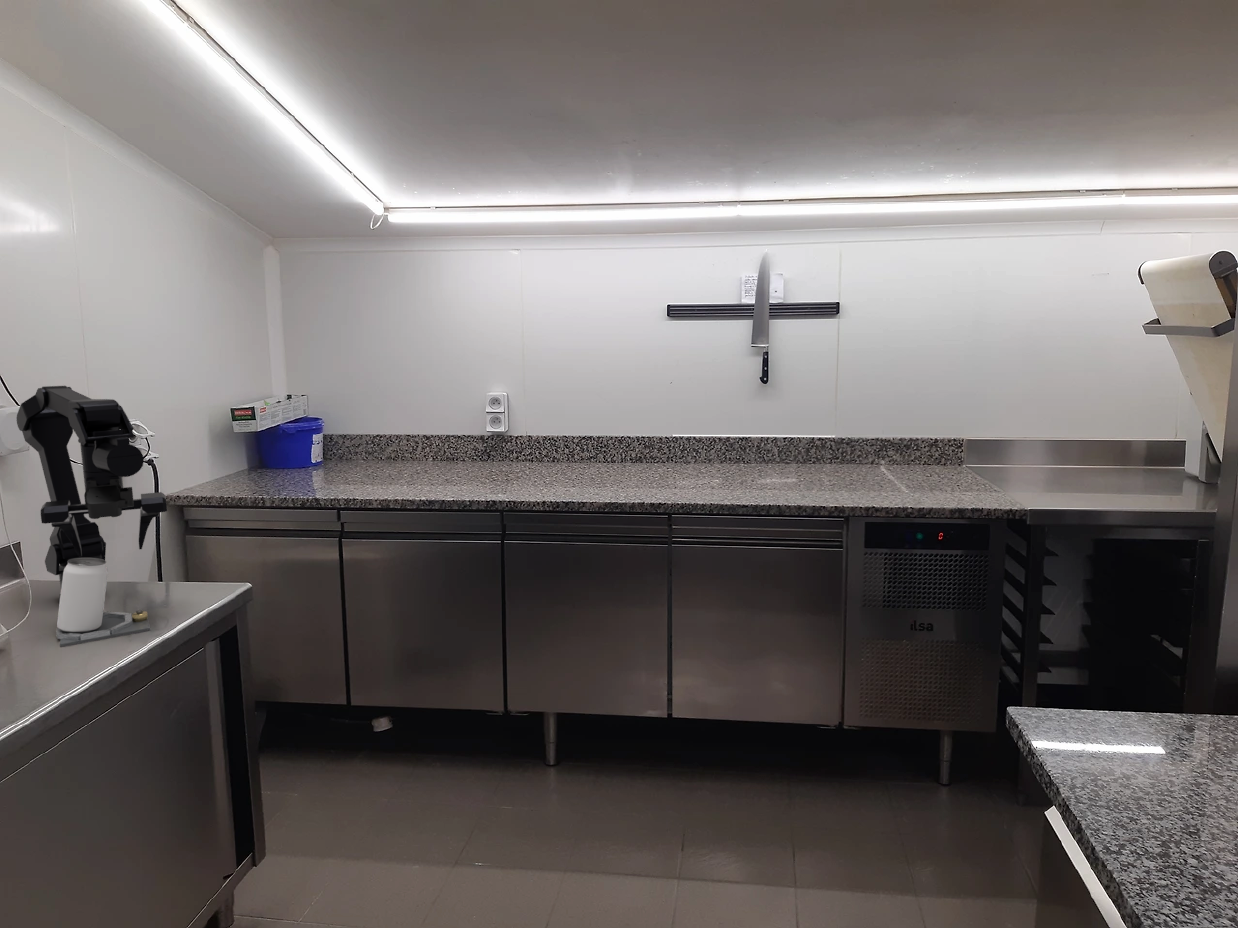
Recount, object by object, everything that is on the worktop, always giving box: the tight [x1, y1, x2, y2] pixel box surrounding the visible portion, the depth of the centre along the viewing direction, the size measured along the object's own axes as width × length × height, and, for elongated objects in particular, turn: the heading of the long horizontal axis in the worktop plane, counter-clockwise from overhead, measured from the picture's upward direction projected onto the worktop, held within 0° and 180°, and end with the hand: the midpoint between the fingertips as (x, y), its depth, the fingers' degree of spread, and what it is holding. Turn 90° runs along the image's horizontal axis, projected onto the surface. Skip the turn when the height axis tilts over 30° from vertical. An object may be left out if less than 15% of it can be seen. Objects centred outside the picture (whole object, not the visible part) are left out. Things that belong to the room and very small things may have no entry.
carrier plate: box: [59, 612, 151, 648], centre depth 134 cm, size 10×13×1 cm
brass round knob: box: [132, 608, 149, 622], centre depth 137 cm, size 2×2×2 cm
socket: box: [55, 610, 132, 641], centre depth 133 cm, size 11×11×1 cm
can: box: [56, 558, 109, 633], centre depth 132 cm, size 6×6×12 cm
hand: (111, 552), depth 137 cm, fingers open, 9 cm apart
